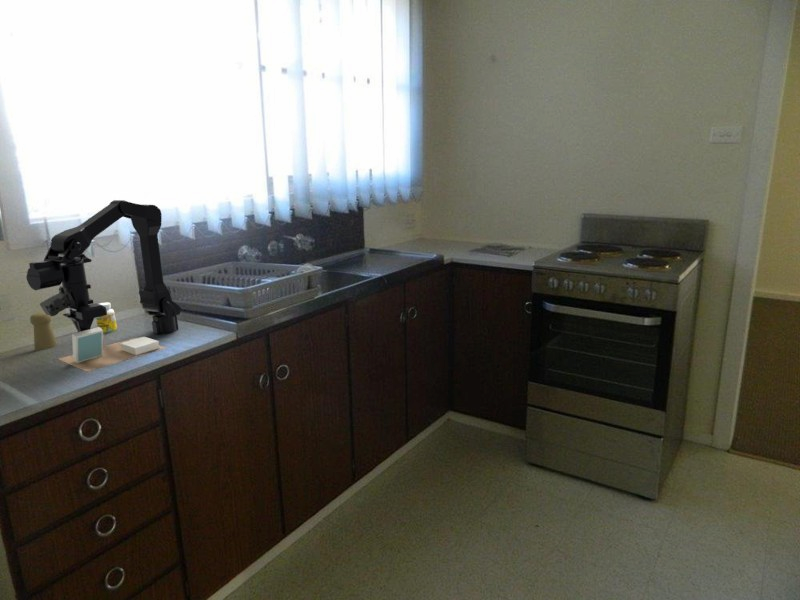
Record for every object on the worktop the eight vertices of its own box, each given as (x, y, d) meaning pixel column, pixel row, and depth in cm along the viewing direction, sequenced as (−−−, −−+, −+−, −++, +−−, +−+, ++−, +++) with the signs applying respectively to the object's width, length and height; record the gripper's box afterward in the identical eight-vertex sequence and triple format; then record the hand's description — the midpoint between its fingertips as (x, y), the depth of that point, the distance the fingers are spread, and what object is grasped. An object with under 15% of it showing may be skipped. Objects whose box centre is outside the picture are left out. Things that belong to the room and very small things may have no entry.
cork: (62, 345, 173) (56, 309, 170) (51, 352, 167) (44, 315, 165) (41, 346, 173) (34, 310, 170) (30, 353, 167) (22, 316, 164)
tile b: (99, 352, 161) (99, 326, 158) (103, 355, 160) (103, 330, 157) (73, 359, 156) (72, 333, 153) (77, 363, 155) (76, 337, 151)
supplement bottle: (121, 330, 186) (116, 301, 184) (111, 336, 181) (107, 306, 179) (104, 331, 187) (99, 301, 184) (95, 336, 181) (90, 306, 179)
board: (135, 340, 175) (135, 337, 175) (167, 350, 165) (166, 347, 165) (58, 362, 159) (57, 358, 159) (87, 375, 149) (86, 371, 148)
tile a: (143, 336, 169) (158, 341, 164) (144, 343, 169) (159, 348, 164) (120, 343, 163) (134, 348, 159) (121, 350, 164) (135, 355, 159)
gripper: (26, 283, 153) (37, 340, 157) (56, 292, 141) (67, 353, 145) (70, 275, 161) (80, 330, 165) (103, 283, 150) (112, 341, 154)
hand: (84, 338), depth 157 cm, fingers closed
